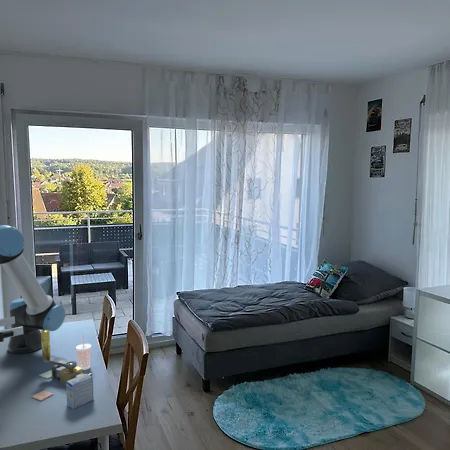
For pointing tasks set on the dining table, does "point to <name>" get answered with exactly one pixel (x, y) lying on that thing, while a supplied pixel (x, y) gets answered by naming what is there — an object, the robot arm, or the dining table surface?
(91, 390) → the medicine box
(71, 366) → the lever
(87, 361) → the beverage cup
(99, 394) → the dining table surface
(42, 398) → the closed pad
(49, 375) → the open pad
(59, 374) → the valve
